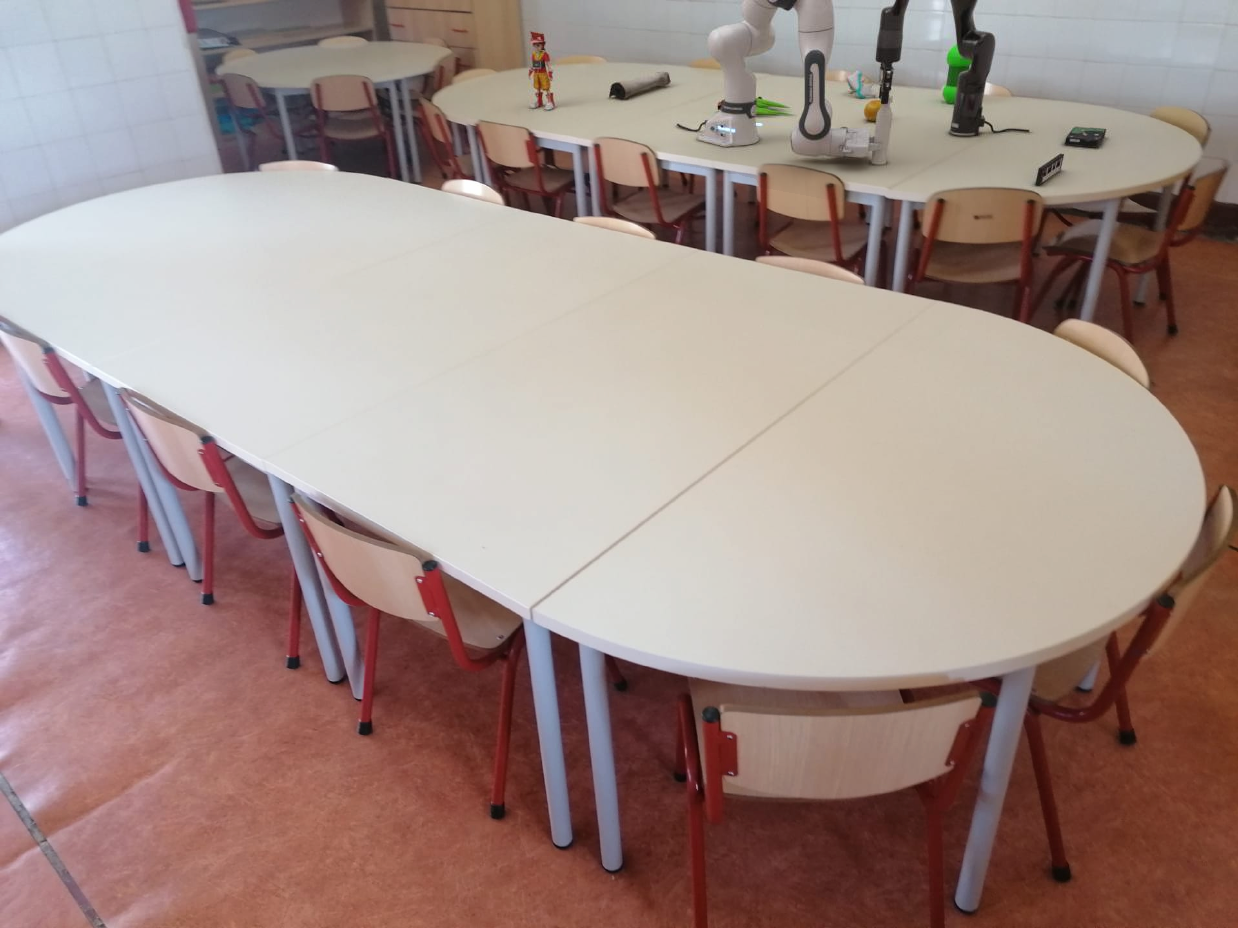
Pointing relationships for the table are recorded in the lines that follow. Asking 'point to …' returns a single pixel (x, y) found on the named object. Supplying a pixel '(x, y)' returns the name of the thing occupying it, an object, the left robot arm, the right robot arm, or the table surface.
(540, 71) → the toy
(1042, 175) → the midi keyboard
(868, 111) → the fruit
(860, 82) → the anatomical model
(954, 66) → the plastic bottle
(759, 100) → the toy
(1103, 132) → the disk drive
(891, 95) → the cap
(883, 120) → the bottle
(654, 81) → the rolled mat
